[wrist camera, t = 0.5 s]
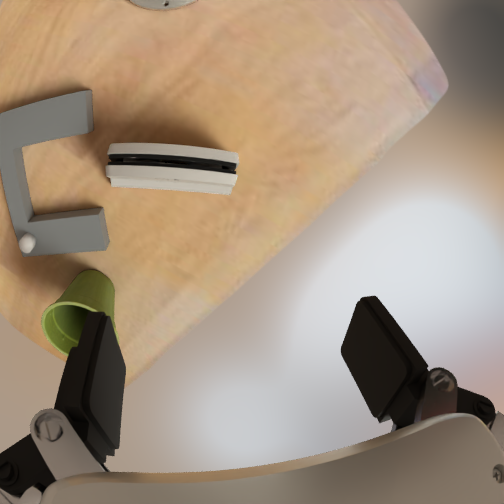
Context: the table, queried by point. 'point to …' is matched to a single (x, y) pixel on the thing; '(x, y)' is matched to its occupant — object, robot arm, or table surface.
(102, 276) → the plant pot
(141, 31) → the table surface
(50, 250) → the gray u-shaped block
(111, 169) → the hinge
